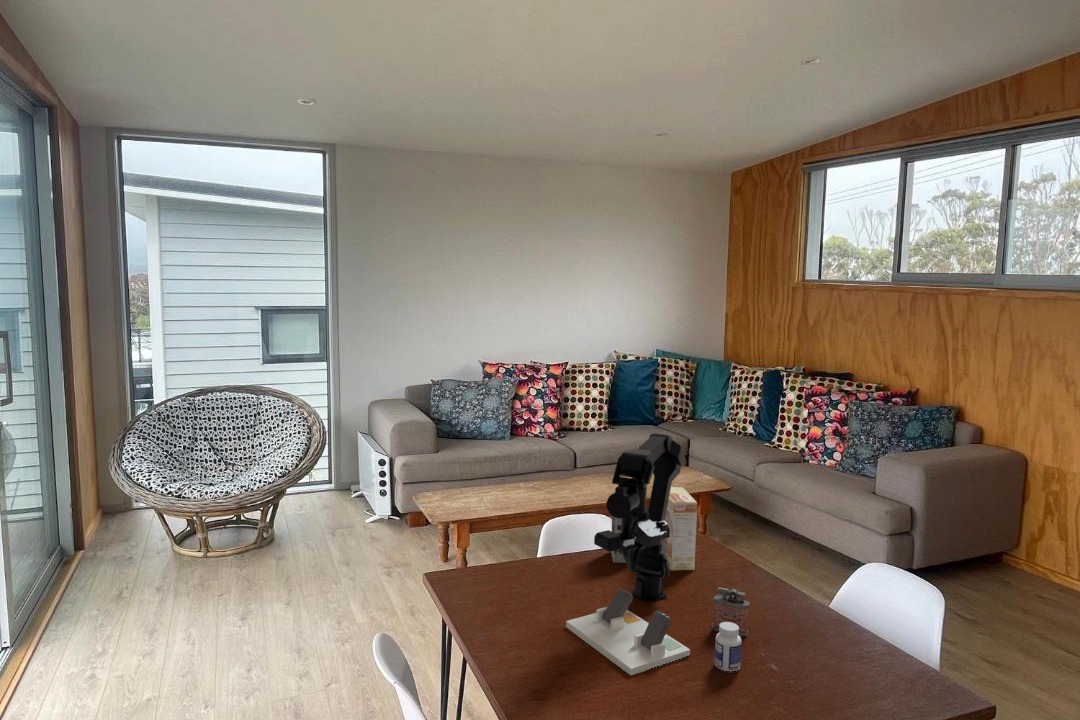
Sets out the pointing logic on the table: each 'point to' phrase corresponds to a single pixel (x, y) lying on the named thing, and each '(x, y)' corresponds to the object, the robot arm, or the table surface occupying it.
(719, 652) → the pill bottle
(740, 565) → the table surface
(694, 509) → the coffeecake box
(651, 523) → the robot arm
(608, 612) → the breaker lever
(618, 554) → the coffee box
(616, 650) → the breaker panel
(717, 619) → the lighter
